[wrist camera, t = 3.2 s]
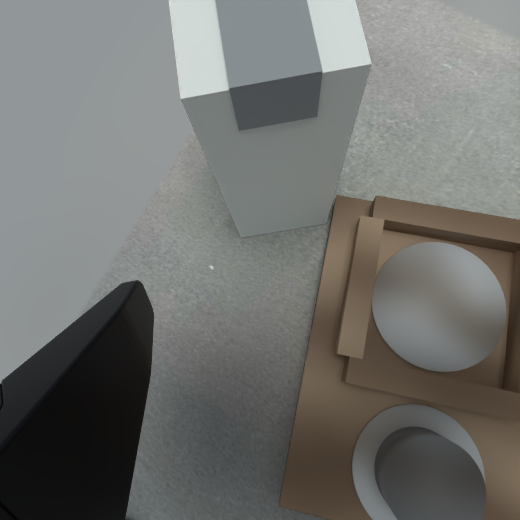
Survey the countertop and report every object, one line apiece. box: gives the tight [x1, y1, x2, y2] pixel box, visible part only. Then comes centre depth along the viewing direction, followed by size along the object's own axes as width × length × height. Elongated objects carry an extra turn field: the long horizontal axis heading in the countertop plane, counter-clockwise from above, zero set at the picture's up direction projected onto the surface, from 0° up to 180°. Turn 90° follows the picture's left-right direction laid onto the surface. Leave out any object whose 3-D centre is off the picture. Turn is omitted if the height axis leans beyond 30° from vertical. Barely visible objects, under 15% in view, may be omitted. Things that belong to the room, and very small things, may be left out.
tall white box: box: [169, 0, 371, 238], centre depth 17 cm, size 5×5×13 cm
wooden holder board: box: [279, 195, 520, 520], centre depth 19 cm, size 16×12×4 cm
